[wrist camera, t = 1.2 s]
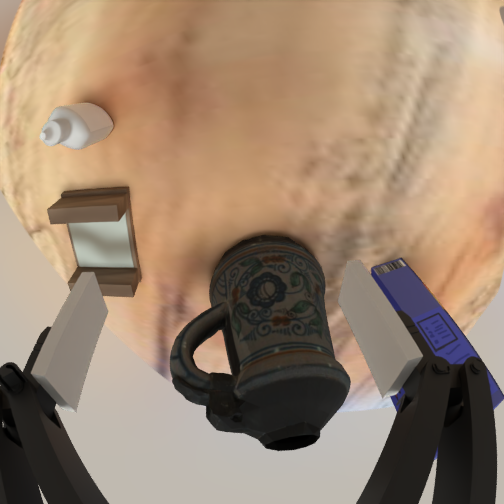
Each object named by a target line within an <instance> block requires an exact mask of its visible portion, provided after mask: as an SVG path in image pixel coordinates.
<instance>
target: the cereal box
mask: <svg viewBox="0 0 504 504" xmlns="http://www.w3.org/2000/svg"><path fill="white" fill-rule="evenodd" d="M371 276H372V277H373V279H374V280H375V282H376V283H377V284H378V286H379V287H380V289H381V290H382V292H383V293H384V295H385V296H386V298H387V299H388V301H389V302H390V304H391V305H392V307H393V308H394V310H395V311H400V310H402V311H404V312H405V313H406V314H407V315H409V316H410V317H411V319H412V320H413V322H414V323H415V326H417V328H418V329H419V332H420V333H421V334H422V335H423V337H424V339H425V340H426V342H427V343H428V345H429V347H430V348H431V350H432V351H433V353H434V354H435V356H440V357H443V358H445V359H446V360H447V361H448V362H449V363H450V364H463V363H464V362H465V361H466V359H467V358H469V357H471V356H475V357H478V358H479V359H481V358H480V357H479V355H478V354H477V352H476V351H475V349H474V348H473V346H472V345H471V344H470V342H469V341H468V339H467V338H466V336H465V335H464V334H463V332H462V331H461V330H460V328H459V327H458V326H457V324H456V323H455V322H454V320H453V319H452V318H451V316H450V315H449V314H448V312H447V311H446V310H445V309H444V307H443V306H442V305H441V304H440V302H439V301H438V300H437V299H436V297H435V296H434V295H433V294H432V293H431V291H430V290H429V289H428V288H427V287H426V285H425V284H424V283H423V282H422V281H421V280H420V278H419V277H418V276H417V275H416V274H415V273H414V271H413V270H412V269H411V268H410V267H409V266H408V265H407V264H406V262H405V261H404V260H403V259H402V258H399V259H396V260H393V261H390V262H387V263H384V264H381V265H378V266H375V267H372V268H371ZM481 360H482V359H481ZM486 369H487V367H486ZM487 374H488V379H489V384H490V390H491V396H492V403H493V410H494V409H495V408H496V407H497V406H498V405H499V404H500V403H501V401H503V399H504V395H503V393H502V391H501V390H500V388H499V386H498V385H497V383H496V381H495V380H494V378H493V376H492V375H491V373H490V372H489V370H488V369H487ZM404 393H405V391H404V389H403V387H402V388H401V389H400V390H399V392H398V393H397V394H396V395H392V396H390V397H391V399H392V402H393V404H394V406H395V408H396V411H397V412H398V409H399V406H400V404H399V405H398V406H397V405H396V404H397V402H398V401H399V399H400V398H401V397H402V396H403V394H404ZM400 403H401V402H400ZM437 454H438V448H437V451H436V455H435V458H434V460H435V459H436V458H437Z"/></svg>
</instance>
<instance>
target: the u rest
mask: <svg viewBox="0 0 504 504" xmlns="http://www.w3.org/2000/svg"><path fill="white" fill-rule="evenodd" d="M61 197H62V198H61V199H59V200H58V201H57V202H56V203H54V204H53V205H52V206H51V207H50V208H48V209H47V211H48V215H49V220H50V224H67V227H68V232H69V236H70V240H71V244H72V248H73V252H74V255H75V259H76V262H77V266H78V267H77V269H76V271H75V272H74V274H73V275H72V277H71V278H70V280H69V282H68V285H69V288H70V291H71V290H72V289H73V287H74V285H75V283H76V282H77V280H78V278H79V277H80V275H81V273H82V272H94V273H95V276H96V279H97V282H98V285H99V288H100V291H101V293H102V296H116V297H134V295H135V292H136V289H137V286H138V283H139V282H141V279H142V277H141V272H140V266H139V260H138V254H137V248H136V242H135V235H134V228H133V220H132V212H131V204H130V194H129V187H117V188H101V189H88V190H76V191H66V192H63V193H62V194H61Z"/></svg>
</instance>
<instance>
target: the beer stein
mask: <svg viewBox="0 0 504 504" xmlns="http://www.w3.org/2000/svg"><path fill="white" fill-rule="evenodd" d="M324 294H325V277H324V274H323V271H322V268H321V266H320V264H319V263H318V261H317V260H316V259H315V258H314V256H312V255H311V254H310V253H309V252H308V251H307V250H306V249H305V248H303V247H302V246H300V245H299V244H297V243H296V242H294V241H293V240H291V239H290V238H288V237H278V236H269V235H262V236H258V237H254V238H251V239H247V240H243V241H242V242H240V243H239V244H237V245H236V246H234V247H233V248H231V249H230V250H228V251H227V252H225V254H224V256H223V257H222V259H221V261H220V262H219V264H218V266H217V267H216V269H215V272H214V275H213V277H212V280H211V284H210V290H209V296H210V302H211V306H212V307H211V308H209V309H208V310H206V311H204V312H203V313H201V314H200V315H198V316H197V317H196V318H194V319H193V320H192V321H191V322H189V323H188V324H187V325H186V326H185V327H184V328H183V330H182V331H181V332H180V333H179V335H178V336H177V337H176V339H175V342H174V345H173V347H172V350H171V356H170V371H171V375H172V378H173V380H172V383H173V384H174V387H175V389H176V390H177V391H179V392H180V393H181V394H182V395H183V396H184V397H185V398H186V399H187V400H188V401H190V402H192V403H195V404H198V405H204V406H206V417H207V419H208V420H209V422H210V423H211V424H212V425H213V426H214V427H215V428H216V430H219V431H224V432H233V433H245V434H247V435H249V436H252V437H254V438H256V439H258V440H259V441H260V442H261V443H262V444H263V446H264V447H265V448H267V449H271V450H277V451H282V450H284V451H285V450H296V449H300V448H304V447H307V446H309V445H312V444H314V443H315V442H316V441H317V440H318V439H319V437H320V430H321V429H322V428H323V427H324V426H325V425H326V423H327V422H328V421H329V420H330V419H331V418H332V417H333V415H334V414H335V413H336V412H337V411H338V410H339V408H340V407H341V406H342V405H343V403H344V401H345V399H346V397H347V395H348V392H349V389H350V383H351V381H350V377H349V375H348V374H347V372H346V371H345V369H344V368H343V366H342V365H341V364H340V363H339V362H338V361H336V360H335V356H334V350H333V345H332V341H331V336H330V331H329V326H328V322H327V316H326V310H325V302H324ZM218 330H222V332H223V336H224V341H225V346H226V351H227V356H228V360H229V365H230V369H231V373H232V375H230V374H226V373H214V372H212V373H210V374H208V373H206V372H204V371H202V370H200V369H198V368H197V366H196V364H195V362H194V359H193V354H194V351H195V350H196V348H197V347H198V346H199V345H201V344H202V343H203V342H204V341H205V340H207V339H208V338H210V337H211V336H213V335H214V334H215V333H216V332H217V331H218Z"/></svg>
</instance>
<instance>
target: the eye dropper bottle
mask: <svg viewBox="0 0 504 504" xmlns="http://www.w3.org/2000/svg"><path fill="white" fill-rule="evenodd" d="M113 127H114V125H113V122H112V120H111V118H110V116H109V115H108V114H107V113H106V112H105V111H104V110H103V109H102V108H101V107H99V106H97V105H95V104H92V103H86V102H85V103H77V104H70V105H64V106H59V107H57V108H55V109H54V110H53V112H52V113H51V115H50V117H49V119H48V122H47V123H46V124H45V125H44V126H43V128H42V132H41V134H40V139H41V140H43V142H44V143H45V144H46V145H48V146H54V145H56V144H59V143H60V144H62V145H64V146H66V147H68V148H71V149H77V150H79V149H83V148H85V147H88V146H90V145H92V144H94V143H97V142H99V141H101V140H103V139H105V138H107V136H108V135H109V133H110V132H111V131H112V129H113Z"/></svg>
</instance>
